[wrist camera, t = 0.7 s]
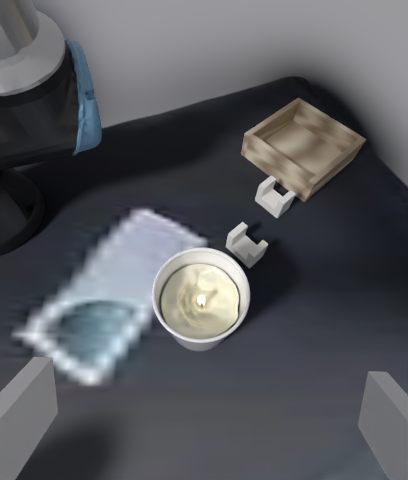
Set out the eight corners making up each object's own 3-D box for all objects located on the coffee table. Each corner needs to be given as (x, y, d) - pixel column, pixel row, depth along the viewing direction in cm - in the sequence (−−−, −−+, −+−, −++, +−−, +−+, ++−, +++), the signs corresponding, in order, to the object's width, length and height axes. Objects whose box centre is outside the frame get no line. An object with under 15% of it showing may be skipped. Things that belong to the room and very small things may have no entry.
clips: (212, 234, 46) (213, 220, 42) (266, 190, 50) (271, 175, 46) (249, 268, 43) (254, 257, 39) (302, 219, 47) (311, 205, 44)
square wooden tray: (240, 153, 54) (244, 133, 50) (290, 118, 59) (298, 97, 55) (304, 202, 49) (314, 184, 45) (353, 159, 54) (366, 139, 50)
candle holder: (238, 290, 41) (253, 253, 31) (231, 363, 37) (246, 350, 26) (171, 280, 42) (163, 241, 31) (156, 351, 37) (140, 333, 26)
